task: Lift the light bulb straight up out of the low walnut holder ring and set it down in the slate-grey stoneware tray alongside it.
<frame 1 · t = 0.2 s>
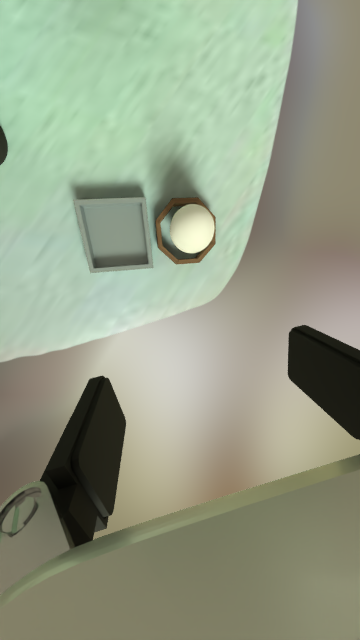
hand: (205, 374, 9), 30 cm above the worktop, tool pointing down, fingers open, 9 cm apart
tray: (119, 237, 33), on the worktop
light bulb: (184, 233, 35), resting in holder ring
holder ring: (184, 233, 35), on the worktop
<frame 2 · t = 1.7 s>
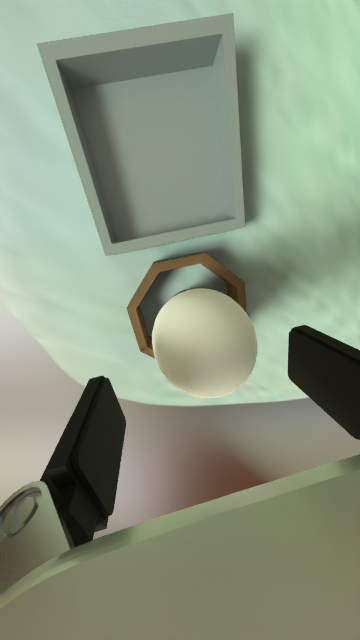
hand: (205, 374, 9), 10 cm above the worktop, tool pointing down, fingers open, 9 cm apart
tray: (159, 168, 15), on the worktop
light bulb: (186, 309, 19), resting in holder ring
holder ring: (186, 309, 19), on the worktop
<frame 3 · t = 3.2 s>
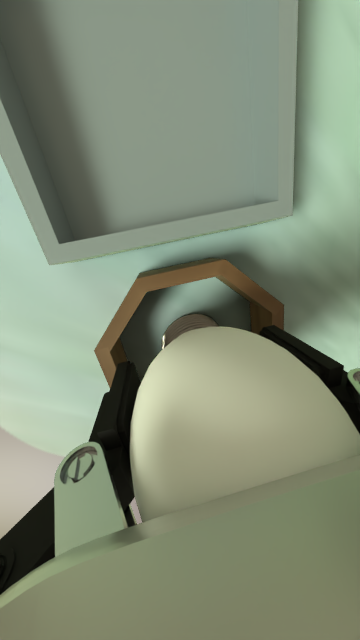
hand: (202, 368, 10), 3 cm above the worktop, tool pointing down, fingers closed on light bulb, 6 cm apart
tray: (145, 115, 9), on the worktop
light bulb: (189, 340, 13), resting in holder ring, touching gripper
holder ring: (190, 341, 13), on the worktop
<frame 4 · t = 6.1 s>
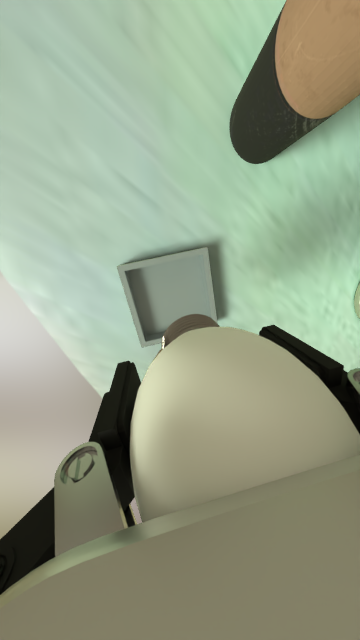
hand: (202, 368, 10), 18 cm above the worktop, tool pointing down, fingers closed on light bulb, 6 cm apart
tray: (170, 296, 26), on the worktop
light bulb: (189, 340, 13), point 14 cm above the worktop, touching gripper
travel mug: (257, 127, 21), on the worktop
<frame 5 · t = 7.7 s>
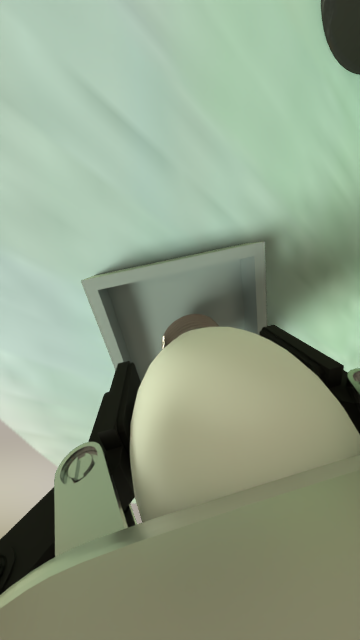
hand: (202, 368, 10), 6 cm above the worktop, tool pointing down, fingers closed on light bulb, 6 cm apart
tray: (185, 328, 15), on the worktop
light bulb: (189, 340, 13), point 2 cm above the worktop, touching gripper
when the fingers open (5 cm above the worktop, at t = 8.8 s): light bulb stays where it is, resting on tray.
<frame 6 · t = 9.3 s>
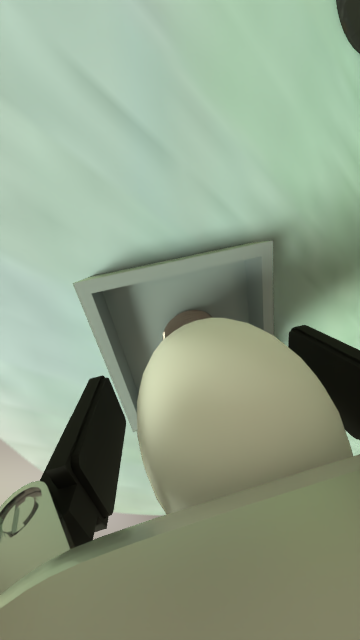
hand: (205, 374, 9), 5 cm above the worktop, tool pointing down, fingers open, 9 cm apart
tray: (186, 332, 14), on the worktop
light bulb: (188, 335, 14), resting on tray
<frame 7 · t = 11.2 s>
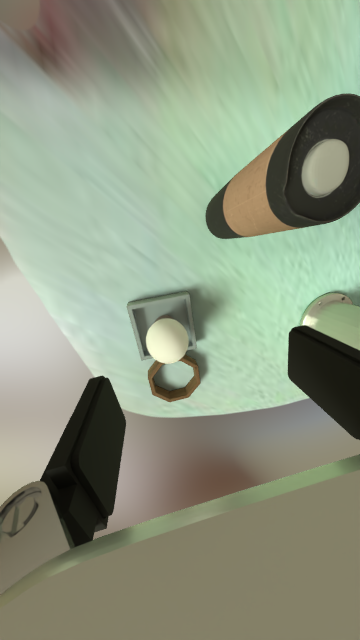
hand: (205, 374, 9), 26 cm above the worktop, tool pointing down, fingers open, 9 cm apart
tray: (163, 323, 36), on the worktop
light bulb: (164, 324, 36), resting on tray
holder ring: (173, 373, 41), on the worktop
travel mug: (224, 216, 32), on the worktop
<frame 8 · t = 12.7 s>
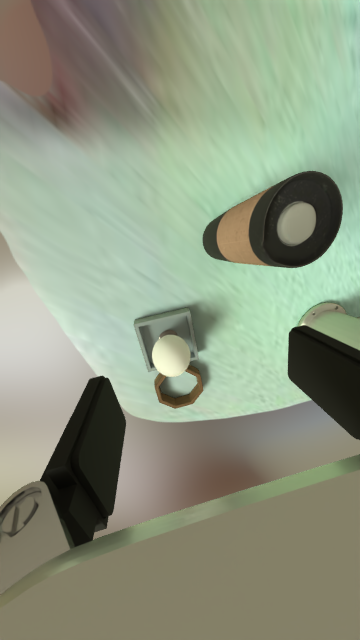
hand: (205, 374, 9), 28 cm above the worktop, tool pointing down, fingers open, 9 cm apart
tray: (167, 337, 39), on the worktop
light bulb: (167, 338, 39), resting on tray
holder ring: (178, 381, 44), on the worktop
travel mug: (220, 239, 35), on the worktop
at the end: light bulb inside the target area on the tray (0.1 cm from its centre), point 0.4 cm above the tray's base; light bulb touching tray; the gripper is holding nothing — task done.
